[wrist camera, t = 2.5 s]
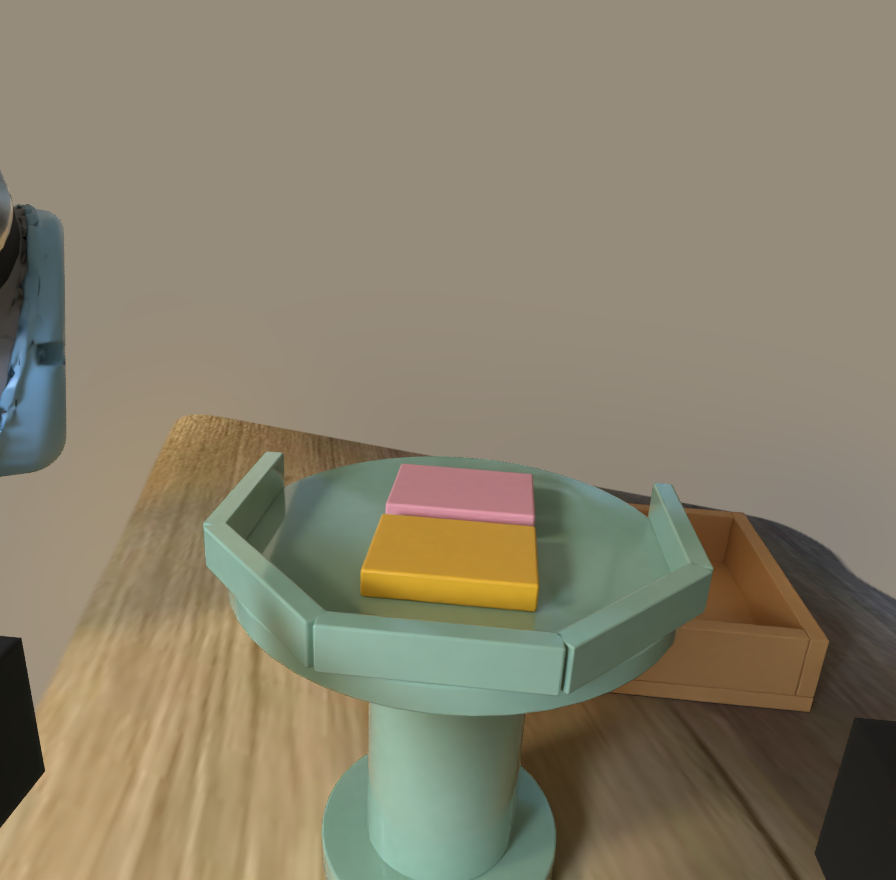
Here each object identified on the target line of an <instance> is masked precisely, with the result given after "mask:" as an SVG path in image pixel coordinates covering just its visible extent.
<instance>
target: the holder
mask: <svg viewBox="0 0 896 880" xmlns="http://www.w3.org/2000/svg"><path fill="white" fill-rule="evenodd" d="M628 504H629V505H631V506H633V507H634V508H636V509H637V510H639V511H640V512H641V513H643V514H644V515H645V516H647V517H648V514H649V508H650V505H644V504H631V503H628ZM684 510H685V512H686V514H687V516H688V518H689V520H690V522H691V524H692V526H693V528H694V530H695V532H696V534H697V536H698V538H699V540H700V542H701V544H702V546H703V548H704V550H705V552H706V554H707V556H708V558H709V560H710V562H711V564H712V566H713V568H714V570H713V575H712V580H711V585H710V589H709V594H708V599H707V604H706V607H705V611H704V613H702V614H700V615H699V616H697V617H695V618H694V619H692V620H690V621H689V622H687V623H686V624H684V625H682V627H681V630H680V631H679V633H678V635H677V637H676V639H675V641H674V643H673V645H672V646H671V647H670V648H669V649H668V651H667V652H666V653H665V654H664V655H663V656H662V657H661V659H660V660H659V661H658V662H657V663H656V664H655V665H653V666H652V667H651V668H649V669H648V670H647V671H646V672H644V673H643V674H642V675H640V676H639V677H638V678H636V679H634V680H632V681H630V682H629V683H627V684H625V685H623V686H621V687H619V688H617V689H616V690H614V691H611V693H621V694H631V695H641V696H652V697H662V698H672V699H682V700H692V701H702V702H712V703H723V704H733V705H743V706H753V707H763V708H773V709H783V710H794V711H804V712H810V709H811V705H812V702H813V697H814V694H815V690H816V687H817V683H818V680H819V676H820V672H821V669H822V665H823V662H824V658H825V654H826V651H827V647H828V644H829V640H828V639H827V637H826V636H825V634H824V633H823V631H822V630H821V628H820V627H819V625H818V624H817V622H816V621H815V619H814V618H813V616H812V615H811V613H810V612H809V610H808V609H807V607H806V606H805V604H804V603H803V601H802V600H801V598H800V597H799V595H798V594H797V592H796V591H795V589H794V588H793V586H792V585H791V583H790V582H789V580H788V579H787V577H786V576H785V574H784V573H783V571H782V570H781V568H780V567H779V565H778V564H777V562H776V561H775V559H774V558H773V556H772V555H771V553H770V552H769V550H768V549H767V547H766V546H765V544H764V543H763V541H762V540H761V538H760V537H759V535H758V534H757V532H756V531H755V529H754V528H753V526H752V525H751V523H750V522H749V520H748V519H747V517H746V516H745V514H744V513H740V512H731V513H730V512H728V511H716V510H704V509H692V508H684ZM648 518H649V517H648Z"/></svg>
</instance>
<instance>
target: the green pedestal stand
mask: <svg viewBox="0 0 896 880" xmlns="http://www.w3.org/2000/svg"><path fill="white" fill-rule="evenodd" d="M401 464H413V465H426V466H438V467H450V468H463V469H475V470H487V471H500V472H512V473H524V474H532V475H533V486H534V503H535V526H534V527H535V528H536V536H537V553H538V570H539V586H540V587H539V596H538V605H537V610H536V611H535V612H528V611H517V610H506V609H495V608H485V607H474V606H463V605H452V604H441V603H430V602H420V601H409V600H398V599H387V598H376V597H366V596H362V595H361V593H360V572H361V568H362V566H363V563H364V560H365V558H366V555H367V553H368V550H369V547H370V545H371V542H372V539H373V537H374V534H375V532H376V529H377V526H378V524H379V521H380V519H381V516H382V514H386V503H387V500H388V498H389V495H390V492H391V490H392V487H393V485H394V482H395V479H396V477H397V474H398V471H399V469H400V466H401ZM284 485H285V484H284V454H283V453H279V452H265V453H264V455H263V456H262V457H261V458H260V459H259V460H258V461H257V463H256V464H255V465H254V466H253V467H252V468H251V469H250V471H249V472H248V473H247V474H246V475H245V476H244V477H243V479H242V480H241V481H240V482H239V483H238V484H237V485H236V487H235V488H234V489H233V490H232V491H231V492H230V493H229V495H228V496H227V497H226V498H225V499H224V500H223V501H222V502H221V504H220V505H219V506H218V507H217V508H216V509H215V510H214V512H213V513H212V514H211V515H210V516H209V517H208V518H207V520H206V521H205V522H204V523H203V530H204V544H205V557H206V566H207V568H208V569H209V570H210V571H211V572H212V573H213V574H214V575H215V576H216V577H217V578H218V579H219V580H220V581H221V582H222V583H223V584H224V585H225V586H226V587H227V592H228V597H229V602H230V605H231V607H232V609H233V611H234V613H235V615H236V618H237V620H238V622H239V623H240V624H241V626H242V627H243V628H244V630H245V631H246V632H247V634H248V635H249V636H250V637H251V639H252V640H253V641H254V642H255V643H256V644H257V645H258V646H259V647H261V648H262V649H263V650H264V651H265V652H266V653H267V654H268V655H269V656H271V657H272V658H273V659H275V660H276V661H278V662H279V663H281V664H282V665H284V666H285V667H287V668H288V669H290V670H291V671H293V672H294V673H296V674H298V675H300V676H302V677H304V678H306V679H308V680H310V681H312V682H314V683H316V684H318V685H320V686H322V687H324V688H327V689H330V690H333V691H335V692H338V693H341V694H344V695H347V696H349V697H352V698H355V699H358V700H362V701H366V702H369V713H368V754H366V755H365V756H363V757H362V758H361V759H359V760H358V761H357V762H355V763H354V764H353V765H352V766H351V767H350V768H349V769H348V770H347V771H346V772H345V773H344V774H343V776H342V777H341V778H340V780H339V781H338V782H337V784H336V785H335V787H334V789H333V791H332V792H331V794H330V796H329V799H328V801H327V804H326V807H325V810H324V815H323V820H322V860H323V867H324V871H325V875H326V879H327V880H551V879H552V873H553V868H554V861H555V854H556V847H557V832H556V825H555V819H554V816H553V813H552V809H551V807H550V804H549V802H548V800H547V798H546V796H545V794H544V792H543V791H542V789H541V788H540V786H539V784H538V783H537V782H536V781H535V780H534V778H533V777H532V776H531V775H530V774H529V773H528V772H527V771H526V770H525V769H524V768H523V767H522V766H521V765H520V759H521V750H522V741H523V732H524V723H525V714H526V713H533V712H540V711H548V710H553V709H557V708H561V707H565V706H569V705H573V704H577V703H581V702H585V701H587V700H590V699H593V698H595V697H598V696H601V695H603V694H606V693H609V692H611V691H614V690H616V689H617V688H619V687H621V686H623V685H625V684H627V683H629V682H630V681H632V680H634V679H636V678H638V677H639V676H640V675H642V674H643V673H644V672H646V671H647V670H648V669H649V668H651V667H652V666H653V665H655V664H656V663H657V662H658V661H659V660H660V659H661V657H662V656H663V655H664V654H665V653H666V652H667V651H668V649H669V648H670V647H671V646H672V645H673V643H674V641H675V639H676V637H677V635H678V633H679V631H680V630H681V627H682V625H684V624H686V623H687V622H689V621H690V620H692V619H694V618H695V617H697V616H699V615H700V614H702V613H704V611H705V607H706V604H707V599H708V594H709V589H710V585H711V580H712V575H713V570H714V568H713V566H712V564H711V562H710V560H709V558H708V556H707V554H706V552H705V550H704V548H703V546H702V544H701V542H700V540H699V538H698V536H697V534H696V532H695V530H694V528H693V526H692V524H691V522H690V520H689V518H688V516H687V514H686V512H685V510H684V508H683V506H682V504H681V502H680V500H679V498H678V496H677V494H676V492H675V490H674V488H673V486H672V485H671V484H660V483H654V484H653V490H652V495H651V501H650V508H649V514H648V517H649V518H648V517H647V516H645V515H644V514H643V513H641V512H640V511H639V510H637V509H636V508H634V507H633V506H631V505H629V504H628V503H626V502H624V501H622V500H621V499H619V498H617V497H615V496H613V495H611V494H609V493H607V492H605V491H603V490H601V489H599V488H596V487H594V486H591V485H589V484H586V483H584V482H581V481H578V480H575V479H572V478H569V477H566V476H563V475H560V474H557V473H553V472H549V471H545V470H541V469H538V468H533V467H528V466H523V465H518V464H513V463H507V462H501V461H494V460H485V459H475V458H462V457H403V458H392V459H382V460H375V461H368V462H362V463H356V464H351V465H347V466H342V467H338V468H334V469H331V470H327V471H324V472H320V473H317V474H314V475H311V476H309V477H306V478H303V479H300V480H298V481H296V482H294V483H292V484H290V485H287V486H285V487H284Z"/></svg>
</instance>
